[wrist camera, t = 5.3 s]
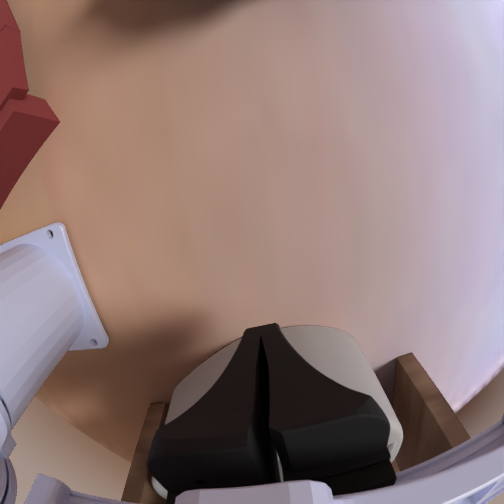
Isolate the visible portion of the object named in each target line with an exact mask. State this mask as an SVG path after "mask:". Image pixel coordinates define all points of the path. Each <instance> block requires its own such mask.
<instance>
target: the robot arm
mask: <svg viewBox="0 0 504 504" xmlns="http://www.w3.org/2000/svg"><path fill="white" fill-rule="evenodd" d="M50 230H51V231H52V232H53V237H52V236H51V234H50ZM93 339H94V340H96V341H97V342H95V341H94V340H93ZM108 344H109V338H108V336H107V334H106V332H105V330H104V328H103V325H102V323H101V321H100V319H99V317H98V314H97V312H96V310H95V308H94V305H93V303H92V300H91V298H90V296H89V293H88V291H87V288H86V286H85V283H84V281H83V278H82V275H81V273H80V270H79V267H78V265H77V262H76V259H75V256H74V253H73V250H72V247H71V244H70V241H69V238H68V235H67V232H66V229H65V226H64V225H63V224H62V223H60V222H56V223H53V224H50V225H48V226H45V227H43V228H40V229H37V230H35V231H32V232H30V233H27V234H25V235H23V236H20V237H18V238H15V239H13V240H11V241H8V242H6V243H4V244H1V245H0V504H15V500H16V495H17V480H16V475H15V471H14V468H13V465H12V463H11V461H10V459H9V456H10V454H11V452H12V451H13V449H14V447H15V446H16V442H15V441H14V439H13V438H12V436H11V430H12V429H13V428H14V426H15V425H16V423H17V421H18V420H19V418H20V417H21V415H22V414H23V412H24V411H25V409H26V408H27V406H28V405H29V403H30V402H31V400H32V399H33V398H34V396H35V395H36V393H37V392H38V390H39V389H40V388H41V386H42V385H43V383H44V382H45V381H46V379H47V378H48V377H49V375H50V374H51V372H52V371H53V370H54V368H55V367H56V366H57V364H58V363H59V362H60V360H61V359H62V358H63V356H64V355H65V354H66V352H67V351H75V350H87V349H99V348H105V347H106V346H107V345H108ZM389 435H390V422H389V420H388V418H387V416H386V415H385V413H384V412H383V410H382V409H381V407H380V406H379V405H378V403H377V402H376V401H375V400H374V399H373V397H372V396H370V395H367V394H364V393H361V392H358V391H355V390H352V389H350V388H347V387H345V386H343V385H341V384H339V383H337V382H336V381H334V380H332V379H330V378H329V377H327V376H325V375H324V374H322V373H321V372H320V371H318V370H317V369H315V368H314V367H313V366H312V365H310V364H309V363H308V362H307V361H306V360H305V359H304V358H303V357H302V356H301V355H300V354H299V353H298V352H297V351H296V350H295V349H294V348H293V347H292V345H291V344H290V343H289V342H288V341H287V339H286V338H285V336H284V335H283V333H282V332H281V330H280V328H279V325H278V324H276V323H273V324H268V325H263V326H258V327H253V328H248V329H246V330H245V331H244V334H243V336H242V339H241V341H240V343H239V345H238V347H237V349H236V351H235V353H234V355H233V357H232V358H231V360H230V362H229V363H228V365H227V367H226V368H225V370H224V371H223V373H222V374H221V376H220V377H219V378H218V380H217V381H216V382H215V383H214V385H213V386H212V387H211V388H210V389H209V390H208V391H207V392H206V393H205V394H204V395H203V396H202V397H201V398H200V399H199V400H198V401H197V402H196V403H195V404H194V405H193V406H191V407H190V408H189V409H188V410H186V411H185V412H184V413H182V414H181V415H180V416H178V417H177V418H175V419H174V420H172V421H171V422H169V423H167V424H166V425H164V426H162V427H161V428H159V429H157V430H156V433H155V435H154V438H153V440H152V443H151V446H150V450H149V454H148V458H147V462H146V466H147V469H148V471H149V472H150V474H151V475H152V476H153V477H154V478H155V479H156V480H157V481H158V482H159V483H160V484H161V485H162V486H163V487H164V488H165V489H166V490H167V491H168V493H167V499H166V504H486V503H488V502H489V501H491V500H492V499H494V498H495V497H496V496H498V495H499V494H500V493H502V492H503V491H504V414H503V417H502V420H500V421H499V422H497V423H495V424H494V425H492V426H491V427H489V428H488V429H486V430H484V431H483V432H481V433H479V434H478V435H476V436H474V437H472V438H471V439H469V440H467V441H465V442H464V443H462V444H460V445H458V446H456V447H454V448H452V449H450V450H448V451H446V452H444V453H442V454H440V455H438V456H436V457H434V458H432V459H429V460H427V461H425V462H423V463H420V464H418V465H416V466H413V467H411V468H408V469H406V470H403V471H401V472H398V473H395V472H394V469H393V467H392V464H391V462H390V458H391V455H390V452H389V450H388V447H387V445H388V440H389ZM277 454H278V457H279V460H280V463H281V466H282V473H283V482H281V478H280V471H279V464H278V457H277ZM24 504H138V503H131V502H124V501H118V500H112V499H107V498H102V497H96V496H92V495H88V494H84V493H80V492H76V491H72V490H70V488H69V487H68V486H67V485H65V484H64V483H63V482H61V481H60V480H58V479H56V478H53V477H49V476H46V475H43V474H38V475H37V477H36V479H35V481H34V483H33V485H32V488H31V490H30V492H29V495H28V496H27V499H26V501H25V503H24Z"/></svg>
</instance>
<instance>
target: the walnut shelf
mask: <svg viewBox="0 0 504 504" xmlns="http://www.w3.org/2000/svg"><path fill="white" fill-rule="evenodd" d="M391 406H392V408H393V410H394V413H395V415H396V417H397V419H398V421H399V422H400V424H401V427H402V430H403V440H402V444H401V447H400V449H399V451H398V453H397V455H396V457H395V460H396V463H397V465H398V467H399V470H400V472H401V471H403V470H406V469H408V468H411V467H413V466H416V465H418V464H420V463H423V462H425V461H427V460H429V459H432V458H434V457H436V456H438V455H440V454H442V453H444V452H446V451H448V450H450V449H452V448H454V447H456V446H458V445H460V444H462V443H464V442H465V441H467V440H469V439H471V438H470V436H469V434H468V433H467V431H466V430H465V428H464V427H463V425H462V424H461V422H460V421H459V419H458V417H457V416H456V414H455V413H454V411H453V410H452V408H451V407H450V405H449V404H448V403H447V401H446V400H445V398H444V397H443V395H442V394H441V392H440V391H439V389H438V388H437V387H436V385H435V384H434V382H433V381H432V380H431V378H430V377H429V375H428V374H427V372H426V371H425V370H424V368H423V367H422V366H421V364H420V363H419V361H418V360H417V359H416V357H415V356H414V355H413V353H409V354H406V355H403V356H400V357H398V358H397V361H396V372H395V382H394V390H393V398H392V405H391ZM168 410H169V408H168V407H167V405H166V403H154V404H150V406H149V409H148V412H147V415H146V418H145V421H144V425H143V428H142V431H141V434H140V437H139V441H138V444H137V447H136V450H135V454H134V457H133V460H132V464H131V467H130V471H129V474H128V478H127V481H126V485H125V488H124V492H123V495H122V499H121V501H124V502H131V503H138V504H166V499H164V498H163V497H161V496H160V495H159V494H158V493H157V492H156V491H155V489H154V488H153V485H152V475H151V474H150V472H149V471H148V469H147V466H146V462H147V458H148V454H149V450H150V446H151V443H152V440H153V438H154V435H155V433H156V430H157V429H159V428H161V427H162V426H164V425H165V422H166V418H167V414H168Z"/></svg>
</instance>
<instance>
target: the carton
mask: <svg viewBox="0 0 504 504" xmlns="http://www.w3.org/2000/svg"><path fill="white" fill-rule="evenodd" d="M28 91H29V88H28V83H27V78H26V72H25V66H24V60H23V53H22V45H21V36H20V30H19V28H18V25H17V23H16V21H15V19H14V17H13V14H12V12H11V10H10V7H9V5H8V3H7V0H0V209H1V207H2V205H3V204H4V202H5V200H6V198H7V197H8V195H9V193H10V192H11V190H12V188H13V187H14V185H15V184H16V182H17V180H18V179H19V177H20V176H21V174H22V173H23V171H24V170H25V168H26V167H27V165H28V164H29V162H30V161H31V160H32V158H33V157H34V155H35V154H36V153H37V151H38V150H39V149H40V147H41V146H42V145H43V143H44V142H45V141H46V139H47V138H48V137H49V135H50V134H51V133H52V132H53V130H54V129H55V128H56V127H57V125H58V124H59V123H60V121H59V120H58V118H57V117H56V115H55V114H54V112H53V111H52V109H51V108H50V106H49V105H48V103H47V102H46V100H44V99H41V98H38V97H35V96H32V95H28V94H26V93H27V92H28Z"/></svg>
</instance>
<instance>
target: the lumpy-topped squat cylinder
mask: <svg viewBox="0 0 504 504" xmlns="http://www.w3.org/2000/svg"><path fill="white" fill-rule="evenodd" d="M280 330H281V332H282V333H283V335H284V336H285V338H286V339H287V341H288V342H289V343H290V344H291V345H292V347H293V348H294V349H295V350H296V351H297V352H298V353H299V354H300V355H301V356H302V357H303V358H304V359H305V360H306V361H307V362H308V363H309V364H310V365H312V366H313V367H314V368H315V369H317V370H318V371H320V372H321V373H322V374H324V375H325V376H327V377H329V378H330V379H332V380H334V381H336V382H337V383H339V384H341V385H343V386H345V387H347V388H350V389H352V390H355V391H358V392H361V393H364V394H367V395H370V396H372V397H373V399H374V400H375V401H376V402H377V403H378V405H379V406H380V407H381V409H382V410H383V412H384V413H385V415H386V416H387V418H388V420H389V422H390V435H389V440H388V445H387V447H388V450H389V452H390V455H391V458H390V462H391V463H392V462H393V460H394V459H395V457H396V455H397V453H398V451H399V449H400V447H401V444H402V440H403V430H402V427H401V424H400V422H399V421H398V419H397V417H396V415H395V413H394V410H393V408H392V406H391V404H390V402H389V400H388V398H387V396H386V394H385V392H384V390H383V389H382V386H381V384H380V382H379V380H378V379H377V377H376V375H375V373H374V371H373V369H372V367H371V365H370V364H369V362H368V360H367V358H366V356H365V354H364V352H363V351H362V349H361V347H360V345H359V343H358V342H357V341H356V340H355V339H354V338H353V337H352V336H351V335H350V334H348V333H346V332H344V331H342V330H339V329H335V328H330V327H323V326H310V325H301V326H292V327H285V328H280ZM241 339H242V338H240V339H238V340H236V341H234V342H233V343H231V344H229V345H228V346H226V347H224V348H223V349H221V350H220V351H218V352H217V353H215V354H214V355H212V356H211V357H210V358H208V359H207V360H205V361H204V362H203V363H201V364H200V365H199V366H198V367H196V368H195V369H194V370H193V371H192V372H191V373H190V374H189V375H188V376H187V377H185V378H184V379H183V380H182V381H181V382H180V383H179V384H178V385H177V387H176V388H175V390H174V392H173V394H172V398H171V402H170V406H169V410H168V414H167V418H166V422H165V425H166V424H167V423H169V422H171V421H172V420H174V419H175V418H177V417H178V416H180V415H181V414H182V413H184V412H185V411H186V410H188V409H189V408H190V407H191V406H193V405H194V404H195V403H196V402H197V401H198V400H199V399H200V398H201V397H202V396H203V395H204V394H205V393H206V392H207V391H208V390H209V389H210V388H211V387H212V386H213V385H214V383H215V382H216V381H217V380H218V378H219V377H220V376H221V374H222V373H223V371H224V370H225V368H226V367H227V365H228V363H229V362H230V360H231V358H232V357H233V355H234V353H235V351H236V349H237V347H238V345H239V343H240V341H241ZM277 457H278V454H277ZM278 464H279V471H280V478H281V482H283V473H282V466H281V463H280V460H279V457H278ZM152 485H153V488H154V489H155V491H156V492H157V493H158V494H159V495H160V496H161V497H163V498H164V499H167V493H168V491H167V490H166V489H165V488H164V487H163V486H162V485H161V484H160V483H159V482H158V481H157V480H156V479H155V478H154V477H153V476H152Z"/></svg>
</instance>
